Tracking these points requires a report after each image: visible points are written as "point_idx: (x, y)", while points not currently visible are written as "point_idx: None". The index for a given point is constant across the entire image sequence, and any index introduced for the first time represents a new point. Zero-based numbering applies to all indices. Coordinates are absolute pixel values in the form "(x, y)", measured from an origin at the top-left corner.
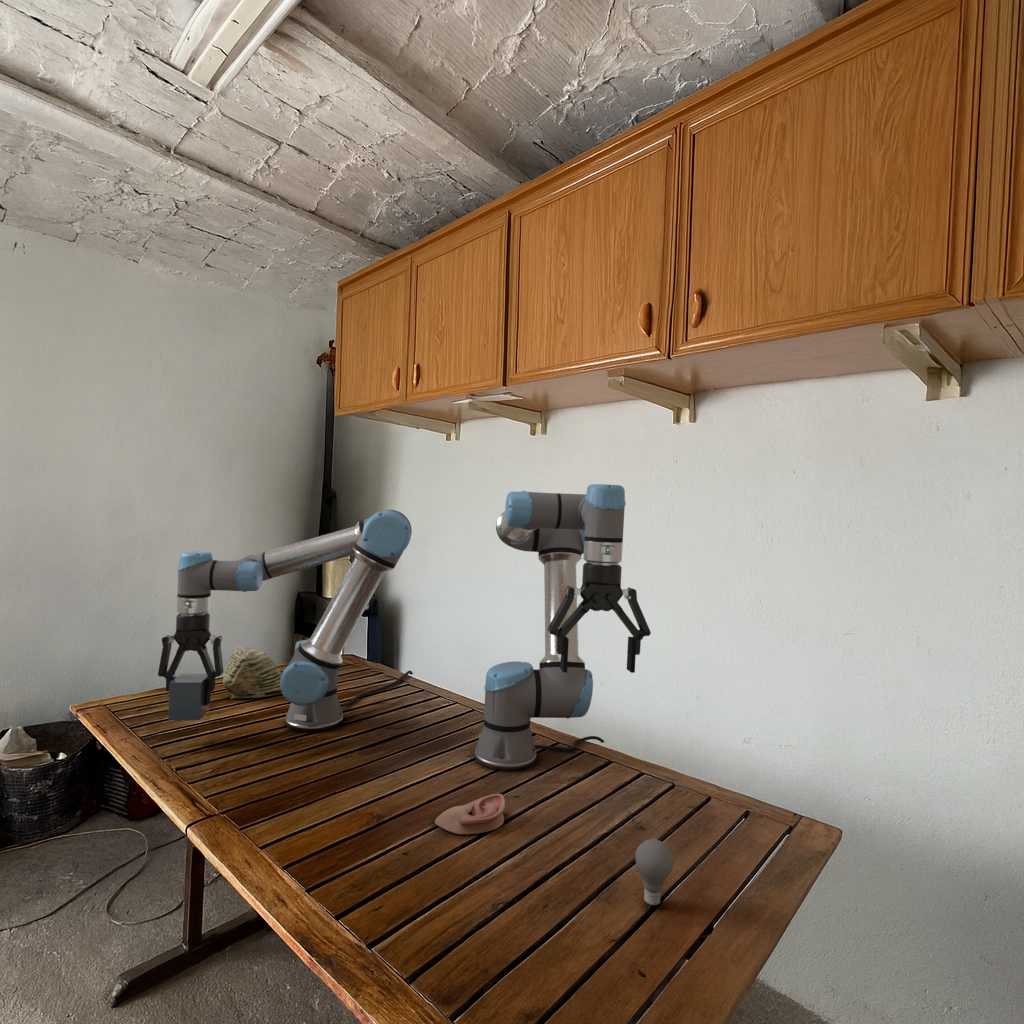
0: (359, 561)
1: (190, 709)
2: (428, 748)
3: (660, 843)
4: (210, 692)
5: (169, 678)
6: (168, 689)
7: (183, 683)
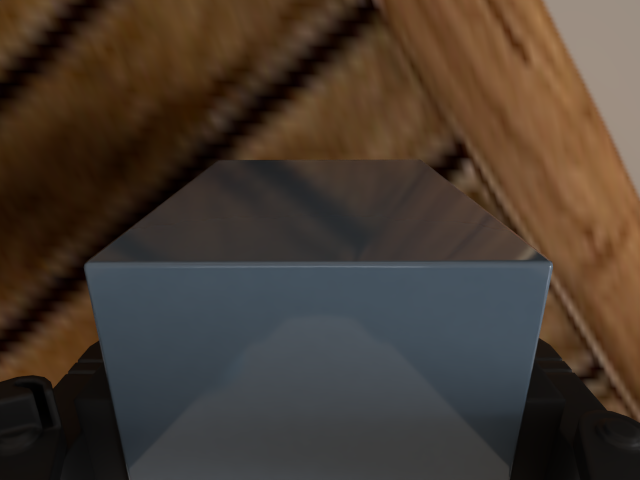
0: None
1: (272, 174)
2: None
3: None
4: None
5: (585, 415)
6: None
7: (345, 256)
